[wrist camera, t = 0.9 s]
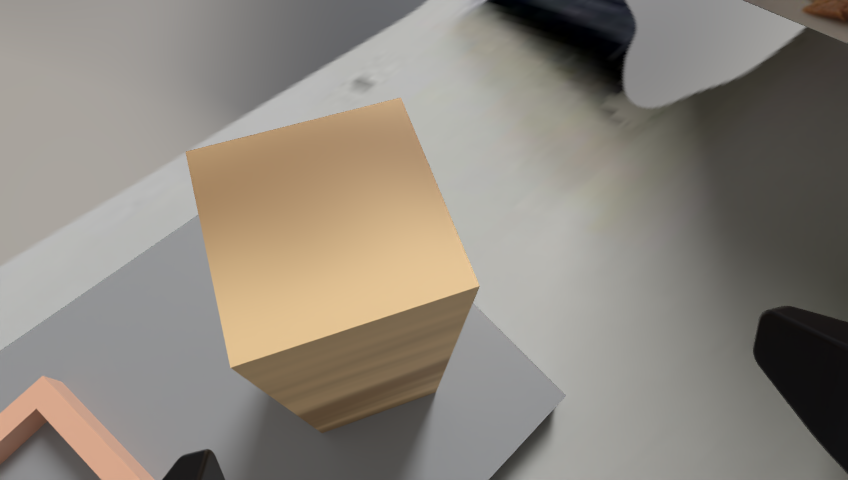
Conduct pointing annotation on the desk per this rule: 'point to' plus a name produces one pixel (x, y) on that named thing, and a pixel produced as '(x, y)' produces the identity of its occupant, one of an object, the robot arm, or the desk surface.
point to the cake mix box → (812, 14)
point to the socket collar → (66, 430)
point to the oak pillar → (333, 263)
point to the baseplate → (251, 390)
